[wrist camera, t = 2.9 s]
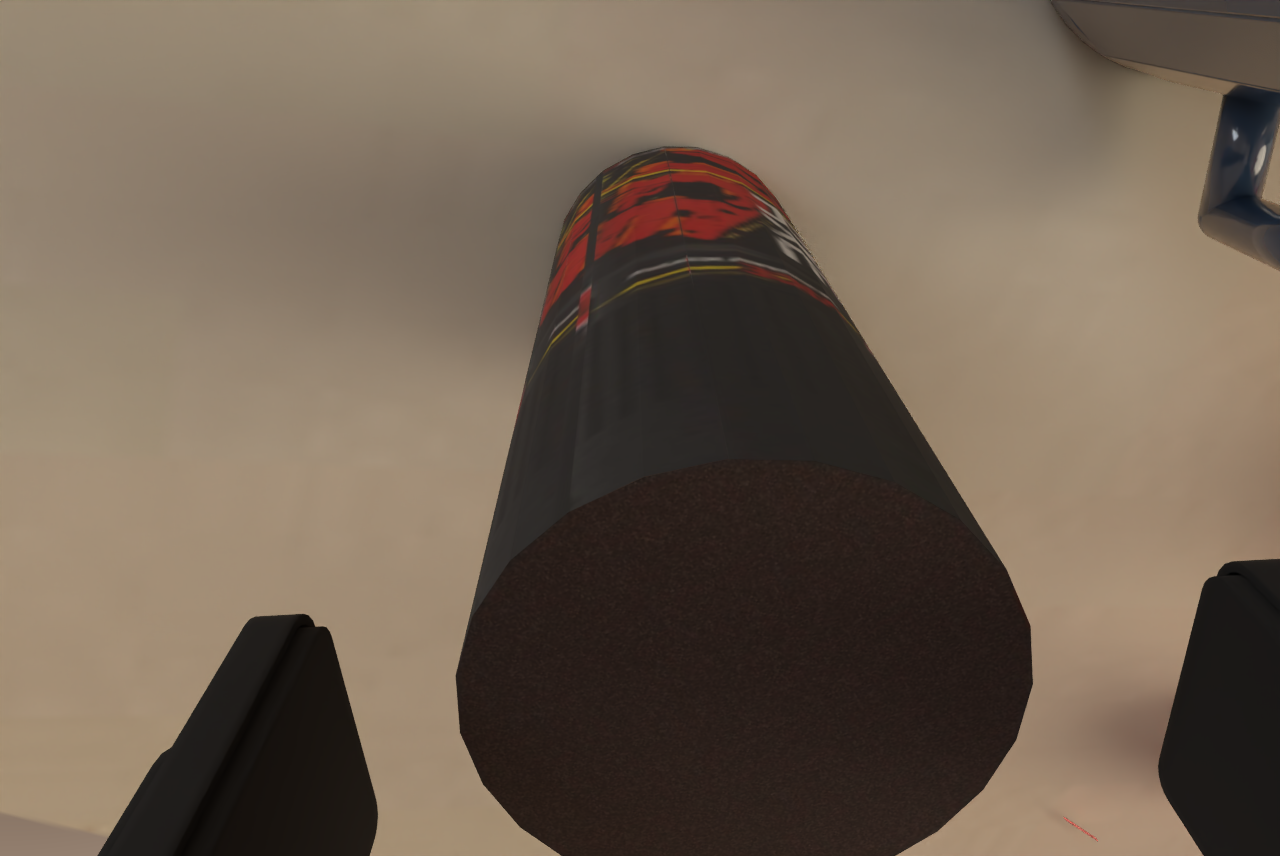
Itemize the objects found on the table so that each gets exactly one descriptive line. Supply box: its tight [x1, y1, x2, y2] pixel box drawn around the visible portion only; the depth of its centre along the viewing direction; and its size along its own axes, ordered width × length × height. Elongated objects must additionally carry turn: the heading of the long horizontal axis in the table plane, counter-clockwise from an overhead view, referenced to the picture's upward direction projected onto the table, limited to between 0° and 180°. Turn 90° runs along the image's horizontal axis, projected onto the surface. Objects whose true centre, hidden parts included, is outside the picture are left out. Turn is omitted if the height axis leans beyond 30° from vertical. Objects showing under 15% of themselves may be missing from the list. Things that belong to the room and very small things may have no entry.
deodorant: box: [456, 147, 1033, 856], centre depth 16 cm, size 6×6×15 cm
